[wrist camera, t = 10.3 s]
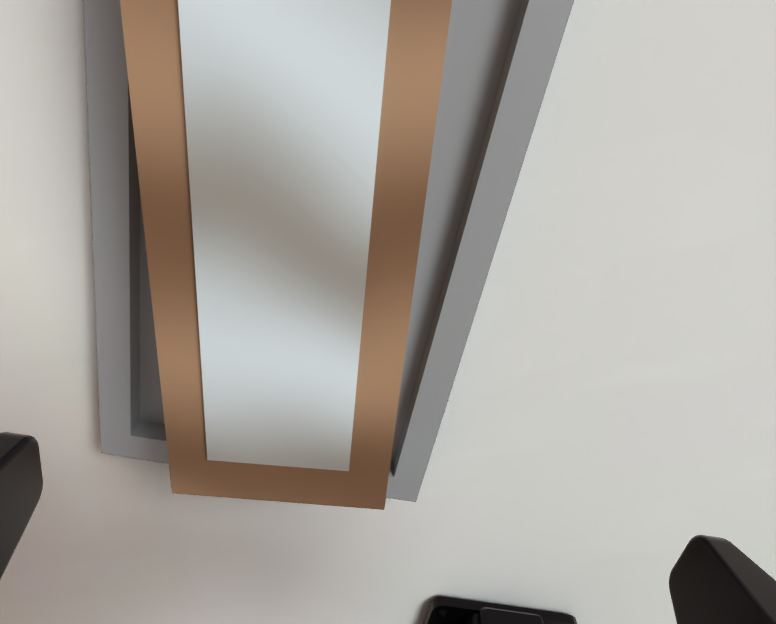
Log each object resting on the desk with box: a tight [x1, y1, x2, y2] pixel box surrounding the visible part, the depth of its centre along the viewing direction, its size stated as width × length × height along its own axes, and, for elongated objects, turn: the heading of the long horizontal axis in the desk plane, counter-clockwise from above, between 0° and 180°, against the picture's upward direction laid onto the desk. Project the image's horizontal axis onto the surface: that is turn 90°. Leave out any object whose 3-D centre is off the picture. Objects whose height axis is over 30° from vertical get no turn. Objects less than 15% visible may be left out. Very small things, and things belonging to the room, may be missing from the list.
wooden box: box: [120, 0, 452, 510], centre depth 15 cm, size 16×6×4 cm, turn 174°
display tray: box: [83, 0, 574, 502], centre depth 16 cm, size 21×11×1 cm, turn 169°
